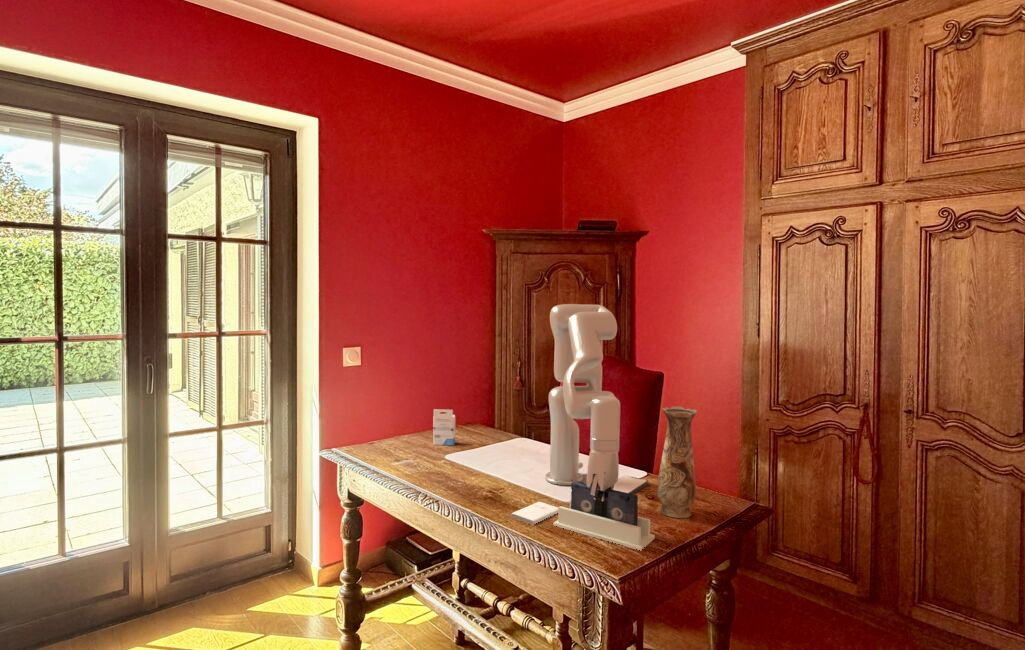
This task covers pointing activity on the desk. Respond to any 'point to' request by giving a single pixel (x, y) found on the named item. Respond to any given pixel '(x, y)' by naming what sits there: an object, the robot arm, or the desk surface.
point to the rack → (606, 528)
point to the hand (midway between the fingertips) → (603, 512)
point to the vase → (677, 464)
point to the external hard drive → (535, 513)
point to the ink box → (443, 427)
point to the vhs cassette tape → (617, 503)
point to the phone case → (630, 484)
